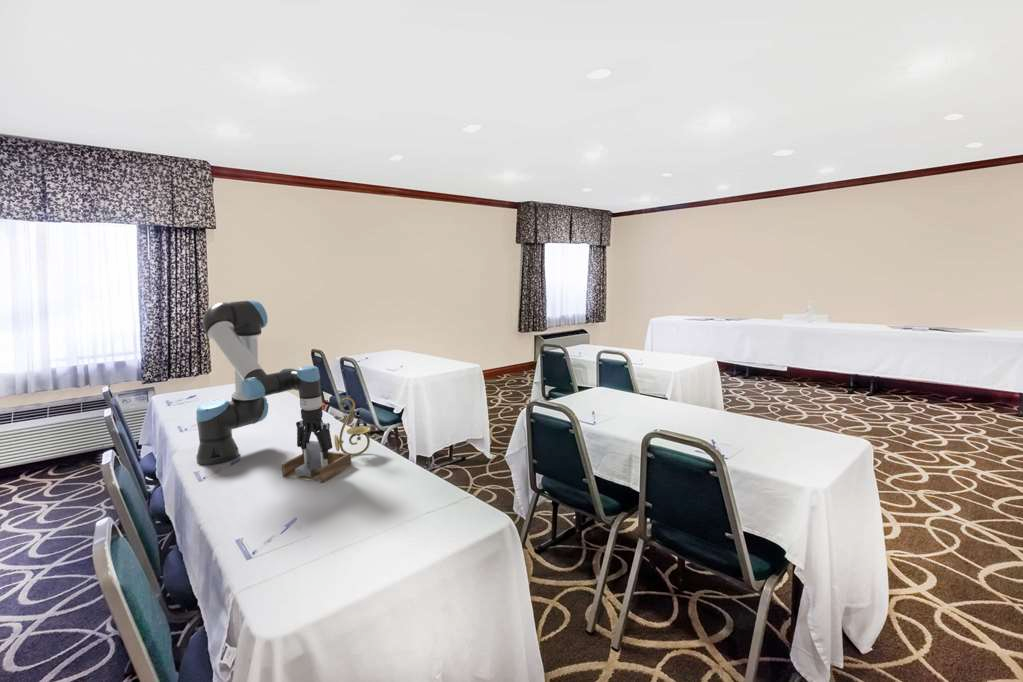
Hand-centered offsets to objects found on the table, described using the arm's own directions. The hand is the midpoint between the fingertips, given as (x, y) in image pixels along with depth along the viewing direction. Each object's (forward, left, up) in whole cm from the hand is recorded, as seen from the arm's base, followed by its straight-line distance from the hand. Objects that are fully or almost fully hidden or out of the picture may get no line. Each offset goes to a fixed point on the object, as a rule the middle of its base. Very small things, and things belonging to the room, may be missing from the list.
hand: (316, 465), depth 190 cm
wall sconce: (+4, +18, -3) cm, 19 cm away
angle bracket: (0, -3, -1) cm, 3 cm away
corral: (0, 0, -2) cm, 2 cm away
